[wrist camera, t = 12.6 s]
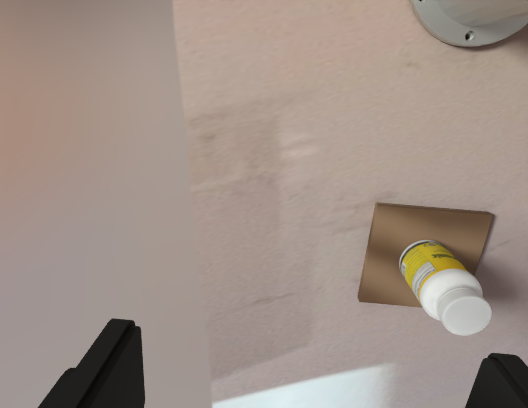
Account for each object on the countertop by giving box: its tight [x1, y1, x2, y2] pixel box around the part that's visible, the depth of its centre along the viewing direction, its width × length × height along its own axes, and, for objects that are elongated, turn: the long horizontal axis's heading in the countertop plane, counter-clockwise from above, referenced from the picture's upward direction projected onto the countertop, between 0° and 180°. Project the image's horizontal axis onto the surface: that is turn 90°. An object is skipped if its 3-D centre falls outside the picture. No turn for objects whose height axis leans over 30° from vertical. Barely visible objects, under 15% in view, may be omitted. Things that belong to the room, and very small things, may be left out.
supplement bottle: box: [399, 240, 492, 335], centre depth 34 cm, size 5×5×10 cm
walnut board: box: [358, 203, 493, 307], centre depth 39 cm, size 12×12×1 cm
